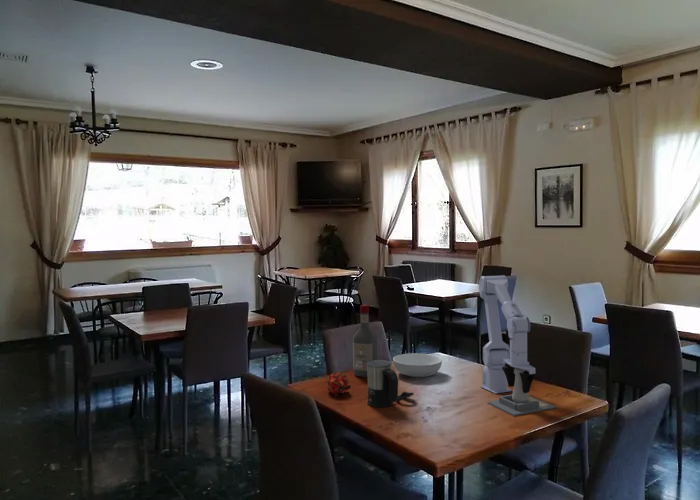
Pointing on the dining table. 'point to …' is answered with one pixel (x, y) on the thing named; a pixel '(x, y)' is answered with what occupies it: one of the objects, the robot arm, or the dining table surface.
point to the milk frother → (383, 384)
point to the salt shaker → (519, 389)
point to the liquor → (364, 344)
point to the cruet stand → (520, 405)
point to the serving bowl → (417, 364)
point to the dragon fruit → (337, 383)
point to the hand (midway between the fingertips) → (518, 389)
